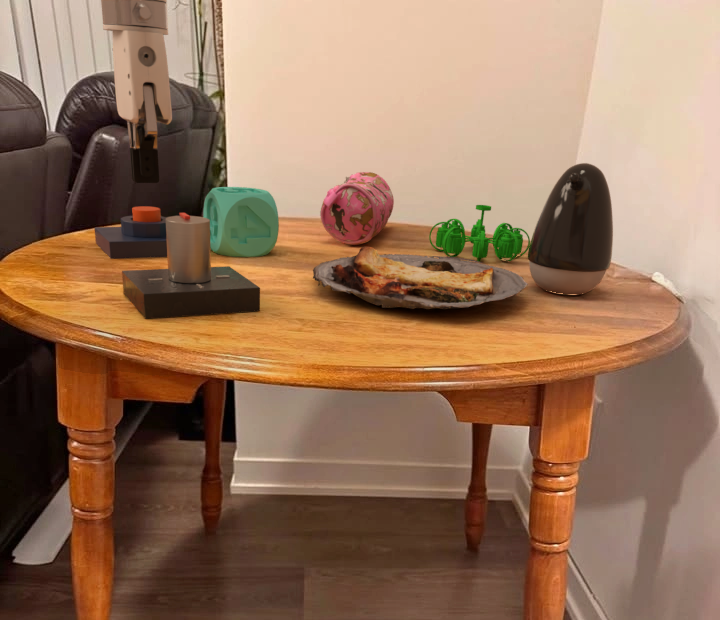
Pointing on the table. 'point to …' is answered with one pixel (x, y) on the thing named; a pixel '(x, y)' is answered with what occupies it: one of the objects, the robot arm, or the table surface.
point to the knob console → (190, 293)
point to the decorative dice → (241, 221)
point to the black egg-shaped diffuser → (573, 233)
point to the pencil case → (357, 208)
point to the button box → (133, 239)
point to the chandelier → (479, 238)
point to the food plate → (418, 280)
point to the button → (146, 214)
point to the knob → (188, 248)
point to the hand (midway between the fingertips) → (145, 181)
